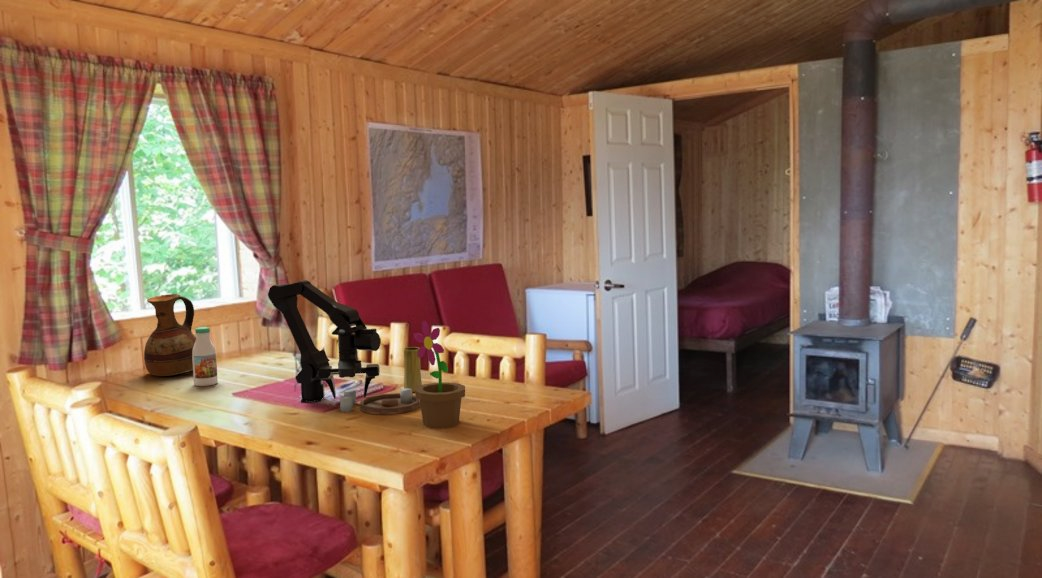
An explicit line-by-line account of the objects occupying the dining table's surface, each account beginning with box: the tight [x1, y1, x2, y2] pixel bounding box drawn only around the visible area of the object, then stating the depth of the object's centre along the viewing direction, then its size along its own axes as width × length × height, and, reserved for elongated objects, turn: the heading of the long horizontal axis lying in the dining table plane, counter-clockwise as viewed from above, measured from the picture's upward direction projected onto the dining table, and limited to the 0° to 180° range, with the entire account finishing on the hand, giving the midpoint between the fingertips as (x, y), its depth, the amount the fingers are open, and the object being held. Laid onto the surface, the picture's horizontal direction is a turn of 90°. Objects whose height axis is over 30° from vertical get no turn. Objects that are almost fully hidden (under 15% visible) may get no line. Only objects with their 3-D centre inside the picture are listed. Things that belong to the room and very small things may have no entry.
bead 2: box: [339, 396, 354, 413], centre depth 233 cm, size 4×4×4 cm
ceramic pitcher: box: [143, 293, 197, 377], centre depth 286 cm, size 20×20×30 cm
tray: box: [359, 392, 421, 416], centre depth 237 cm, size 18×18×2 cm
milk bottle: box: [192, 326, 219, 387], centre depth 269 cm, size 8×8×20 cm
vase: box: [403, 346, 423, 394], centre depth 256 cm, size 6×6×14 cm
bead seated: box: [399, 387, 413, 404], centre depth 239 cm, size 4×4×4 cm
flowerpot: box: [413, 320, 466, 430], centre depth 217 cm, size 14×14×30 cm
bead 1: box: [343, 389, 357, 406], centre depth 241 cm, size 4×4×4 cm
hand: (349, 398), depth 241 cm, fingers open, 9 cm apart
